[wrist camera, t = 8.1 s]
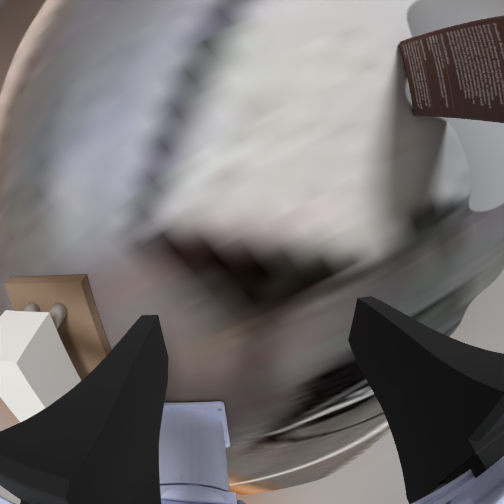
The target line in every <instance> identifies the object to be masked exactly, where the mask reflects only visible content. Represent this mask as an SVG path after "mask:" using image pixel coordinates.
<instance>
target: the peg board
mask: <svg viewBox="0 0 504 504" xmlns="http://www.w3.org/2000/svg"><path fill="white" fill-rule="evenodd" d="M4 285H5V288H6V290H7V293H8V296H9V298H10V301H11V303H12V306H13V308H14V311H28V312H50V315H51V317H52V320H53V322H54V325H55V327H56V330H57V332H58V334H59V336H60V339H61V341H62V343H63V345H64V347H65V350H66V352H67V354H68V356H69V358H70V360H71V362H72V364H73V366H74V368H75V370H76V372H77V374H78V375H79V377H80V379H81V381H82V380H83V379H84V378H85V377H86V376H87V375H88V374H89V373H90V372H91V371H93V370H94V369H95V367H96V366H97V365H98V364H99V363H100V362H101V361H102V360H103V359H104V358H105V357H106V356H107V355H108V354H109V353H110V352H111V348H110V345H109V342H108V340H107V337H106V334H105V331H104V329H103V326H102V323H101V320H100V317H99V314H98V311H97V308H96V304H95V301H94V298H93V295H92V291H91V288H90V284H89V281H88V277H87V274H77V275H53V276H27V277H11V278H10V279H9V280H8V281H7V282H6V283H5V284H4Z"/></svg>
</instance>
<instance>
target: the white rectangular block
mask: <svg viewBox="0 0 504 504" xmlns="http://www.w3.org/2000/svg"><path fill="white" fill-rule="evenodd" d="M79 382H81V379H80V377H79V375H78V374H77V372H76V370H75V368H74V366H73V364H72V362H71V360H70V358H69V356H68V354H67V352H66V350H65V347H64V345H63V343H62V341H61V339H60V336H59V334H58V332H57V330H56V327H55V325H54V322H53V320H52V317H51V315H50V312H28V311H8V310H6V311H5V312H4V313H3V314H2V315H1V317H0V397H1V398H2V400H3V401H4V402H5V403H6V405H7V406H8V408H9V409H10V410H11V411H12V412H13V414H14V415H15V416H16V418H17V419H18V420H19V421H20V422H22V421H24V420H26V419H28V418H30V417H32V416H33V415H35V414H37V413H38V412H40V411H42V410H43V409H45V408H46V407H48V406H50V405H51V404H52V403H54V402H55V401H56V400H58V399H59V398H60V397H62V396H63V395H65V394H66V393H67V392H69V391H70V390H71V389H72V388H74V387H75V386H76V385H77V384H78V383H79Z"/></svg>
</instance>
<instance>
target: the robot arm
mask: <svg viewBox="0 0 504 504" xmlns="http://www.w3.org/2000/svg"><path fill="white" fill-rule="evenodd" d="M348 340H349V343H350V346H351V349H352V351H353V354H354V356H355V359H356V361H357V363H358V365H359V367H360V369H361V371H362V372H363V374H364V376H365V378H366V380H367V381H368V383H369V385H370V387H371V389H372V390H373V392H374V394H375V396H376V398H377V399H378V401H379V403H380V405H381V407H382V409H383V411H384V413H385V416H386V419H387V421H388V424H389V427H390V429H391V432H392V435H393V438H394V441H395V444H396V448H397V451H398V455H399V458H400V463H401V467H402V471H403V476H404V482H405V488H406V495H407V499H408V502H409V504H504V354H502V353H497V352H492V351H488V350H484V349H481V348H478V347H474V346H471V345H468V344H465V343H462V342H460V341H458V340H455V339H453V338H450V337H448V336H446V335H443V334H441V333H439V332H437V331H435V330H433V329H431V328H429V327H427V326H425V325H423V324H421V323H420V322H418V321H416V320H414V319H412V318H411V317H409V316H407V315H405V314H403V313H402V312H400V311H398V310H396V309H395V308H393V307H391V306H389V305H388V304H386V303H384V302H382V301H380V300H378V299H376V298H374V297H372V296H370V297H363V298H357V303H356V308H355V313H354V318H353V322H352V327H351V331H350V335H349V339H348ZM167 382H168V354H167V350H166V347H165V343H164V338H163V334H162V330H161V326H160V322H159V317H158V315H142V316H141V317H140V318H139V319H138V320H137V321H136V322H135V323H134V325H133V326H132V327H131V328H130V329H129V331H128V332H127V333H126V334H125V335H124V337H123V338H122V339H121V340H120V341H119V342H118V344H117V345H116V346H115V347H114V348H113V349H112V350H111V352H110V353H109V354H108V355H107V356H106V357H105V358H104V359H103V360H102V361H101V362H100V363H99V364H98V365H97V366H96V367H95V369H94V370H93V371H91V372H90V373H89V374H88V375H87V376H86V377H85V378H84V379H83V380H82V381H81V382H79V383H78V384H77V385H76V386H75V387H74V388H72V389H71V390H70V391H69V392H67V393H66V394H65V395H63V396H62V397H60V398H59V399H58V400H56V401H55V402H54V403H52V404H51V405H50V406H48V407H46V408H45V409H43V410H42V411H40V412H38V413H37V414H35V415H33V416H32V417H30V418H28V419H26V420H24V421H22V422H20V423H19V424H16V425H14V426H12V427H10V428H8V429H5V430H3V431H1V432H0V485H1V486H2V487H3V488H5V489H6V490H8V491H9V492H10V493H12V494H13V495H15V496H16V497H18V498H20V499H21V503H20V504H245V502H243V501H241V500H237V499H236V492H230V489H229V480H228V470H227V461H226V450H225V447H229V446H230V440H229V433H228V426H227V420H226V413H225V406H224V403H223V402H221V401H214V402H185V403H164V401H165V395H166V389H167ZM0 504H15V503H13V502H11V501H9V500H7V499H6V498H4V497H2V496H0Z"/></svg>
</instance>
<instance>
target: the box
mask: <svg viewBox="0 0 504 504" xmlns="http://www.w3.org/2000/svg"><path fill="white" fill-rule="evenodd" d="M400 47H401V51H402V54H403V58H404V63H405V67H406V72H407V77H408V82H409V87H410V93H411V99H412V105H413V112H414V116H430V117H447V118H448V117H449V118H462V119H472V120H483V121H492V122H500V123H504V16H499V17H492V18H487V19H481V20H477V21H472V22H468V23H463V24H460V25H455V26H452V27H448V28H444V29H440V30H436V31H433V32H429V33H426V34H423V35H420V36H416V37H412V38H410V39H407V40H404V41H401V42H400Z"/></svg>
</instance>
